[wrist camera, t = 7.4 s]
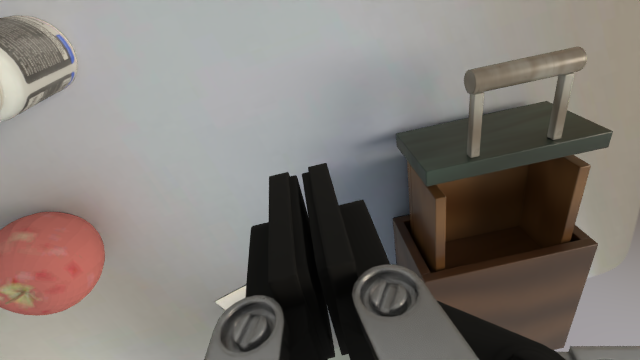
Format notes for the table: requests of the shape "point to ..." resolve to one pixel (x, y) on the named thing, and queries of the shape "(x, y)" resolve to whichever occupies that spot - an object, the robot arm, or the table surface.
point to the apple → (48, 262)
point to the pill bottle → (32, 63)
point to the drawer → (501, 168)
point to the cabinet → (511, 285)
